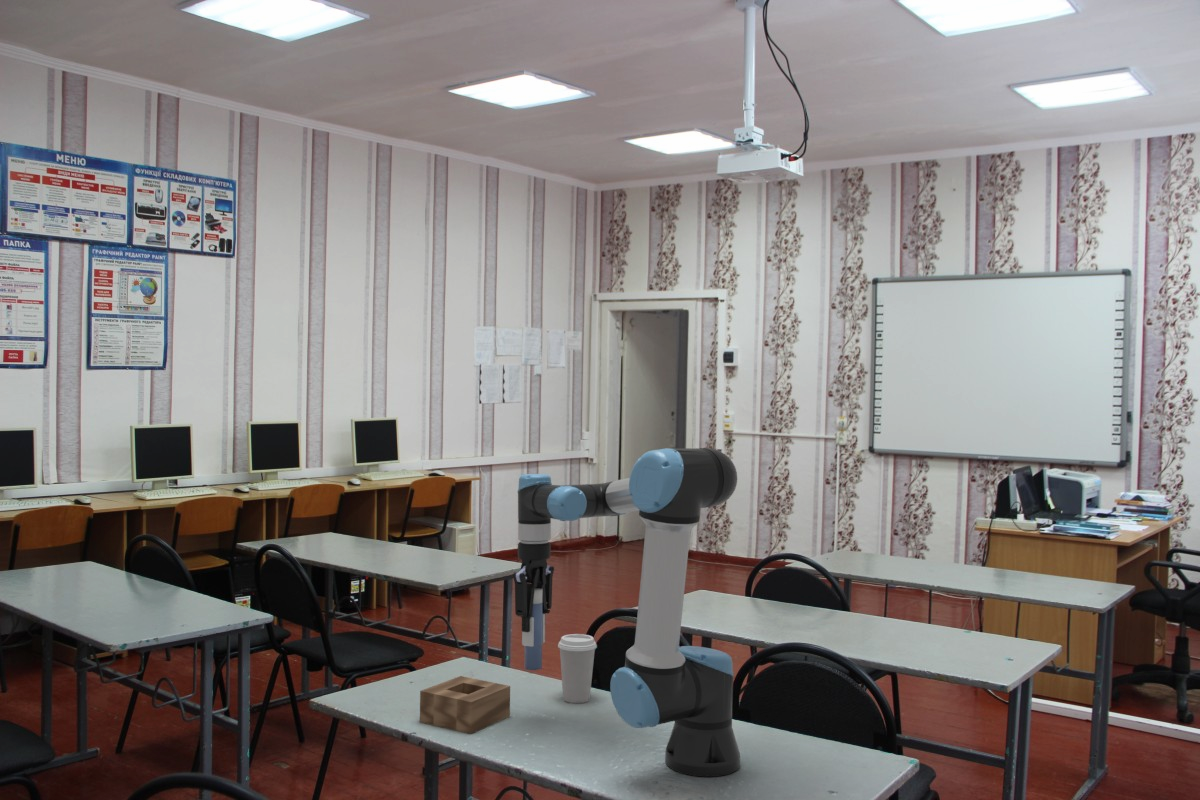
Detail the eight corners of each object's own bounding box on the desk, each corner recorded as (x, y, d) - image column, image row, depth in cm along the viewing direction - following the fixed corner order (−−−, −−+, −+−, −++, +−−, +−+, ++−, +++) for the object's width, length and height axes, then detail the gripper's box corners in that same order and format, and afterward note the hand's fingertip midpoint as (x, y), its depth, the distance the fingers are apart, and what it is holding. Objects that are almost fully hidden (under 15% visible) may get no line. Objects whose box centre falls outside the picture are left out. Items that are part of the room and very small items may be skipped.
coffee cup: (603, 697, 246) (604, 636, 246) (581, 707, 238) (583, 644, 238) (571, 691, 251) (572, 631, 251) (549, 700, 243) (550, 638, 243)
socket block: (509, 716, 230) (510, 686, 230) (470, 734, 218) (471, 702, 218) (460, 705, 238) (460, 676, 238) (419, 721, 225) (420, 690, 225)
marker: (545, 667, 230) (545, 588, 230) (535, 670, 226) (536, 591, 226) (531, 664, 232) (531, 587, 232) (521, 668, 228) (521, 589, 228)
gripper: (541, 536, 238) (540, 634, 238) (499, 544, 224) (498, 649, 224) (567, 538, 234) (567, 638, 234) (526, 546, 220) (525, 653, 220)
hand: (533, 643), depth 229 cm, fingers closed on marker, 4 cm apart
